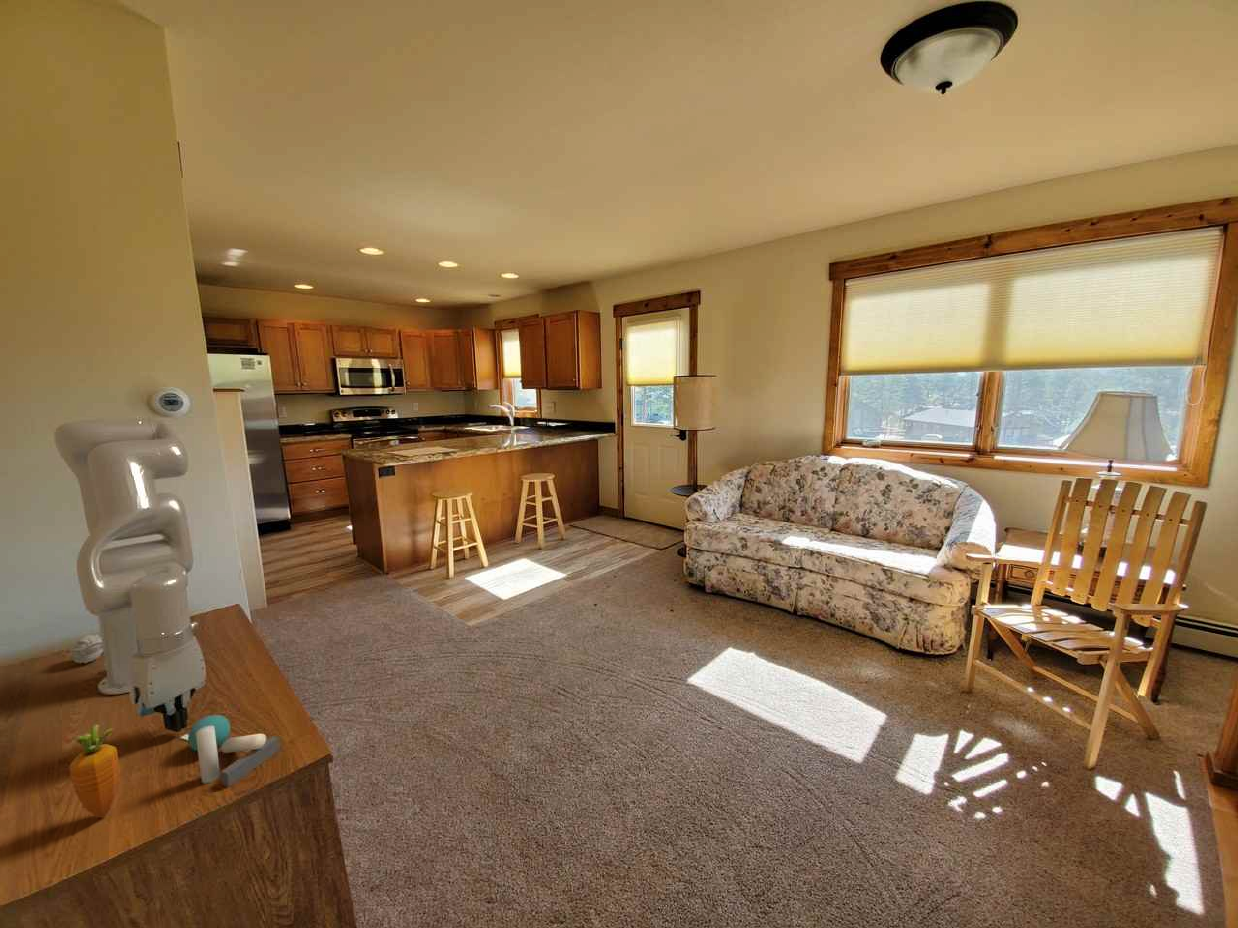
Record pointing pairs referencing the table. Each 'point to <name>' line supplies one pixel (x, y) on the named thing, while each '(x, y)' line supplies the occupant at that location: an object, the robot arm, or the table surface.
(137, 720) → the table surface
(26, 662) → the table surface
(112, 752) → the carrot
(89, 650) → the white ridged lump
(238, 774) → the wall
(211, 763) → the white cylinder rod
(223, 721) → the ball
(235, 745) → the ivory pin
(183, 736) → the lane line
